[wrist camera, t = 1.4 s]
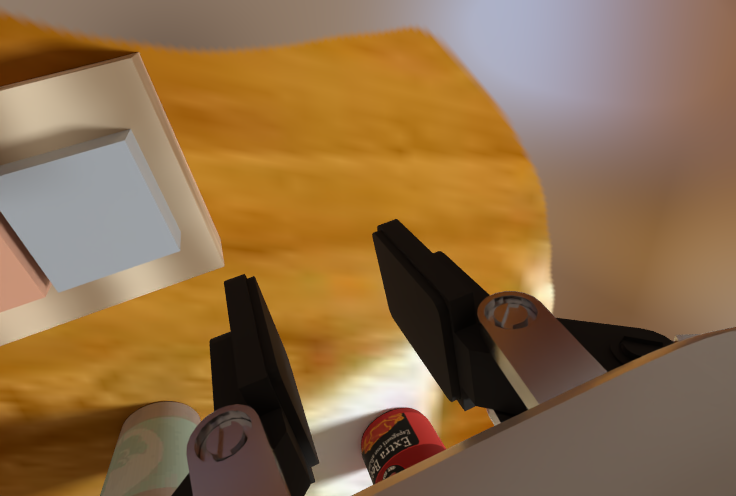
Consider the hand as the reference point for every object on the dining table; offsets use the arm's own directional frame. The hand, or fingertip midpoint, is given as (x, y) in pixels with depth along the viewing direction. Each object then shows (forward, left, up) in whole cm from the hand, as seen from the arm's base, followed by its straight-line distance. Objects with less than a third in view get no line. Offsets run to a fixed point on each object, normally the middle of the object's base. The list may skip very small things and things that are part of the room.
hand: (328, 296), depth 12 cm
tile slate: (-8, 0, -15) cm, 17 cm away
